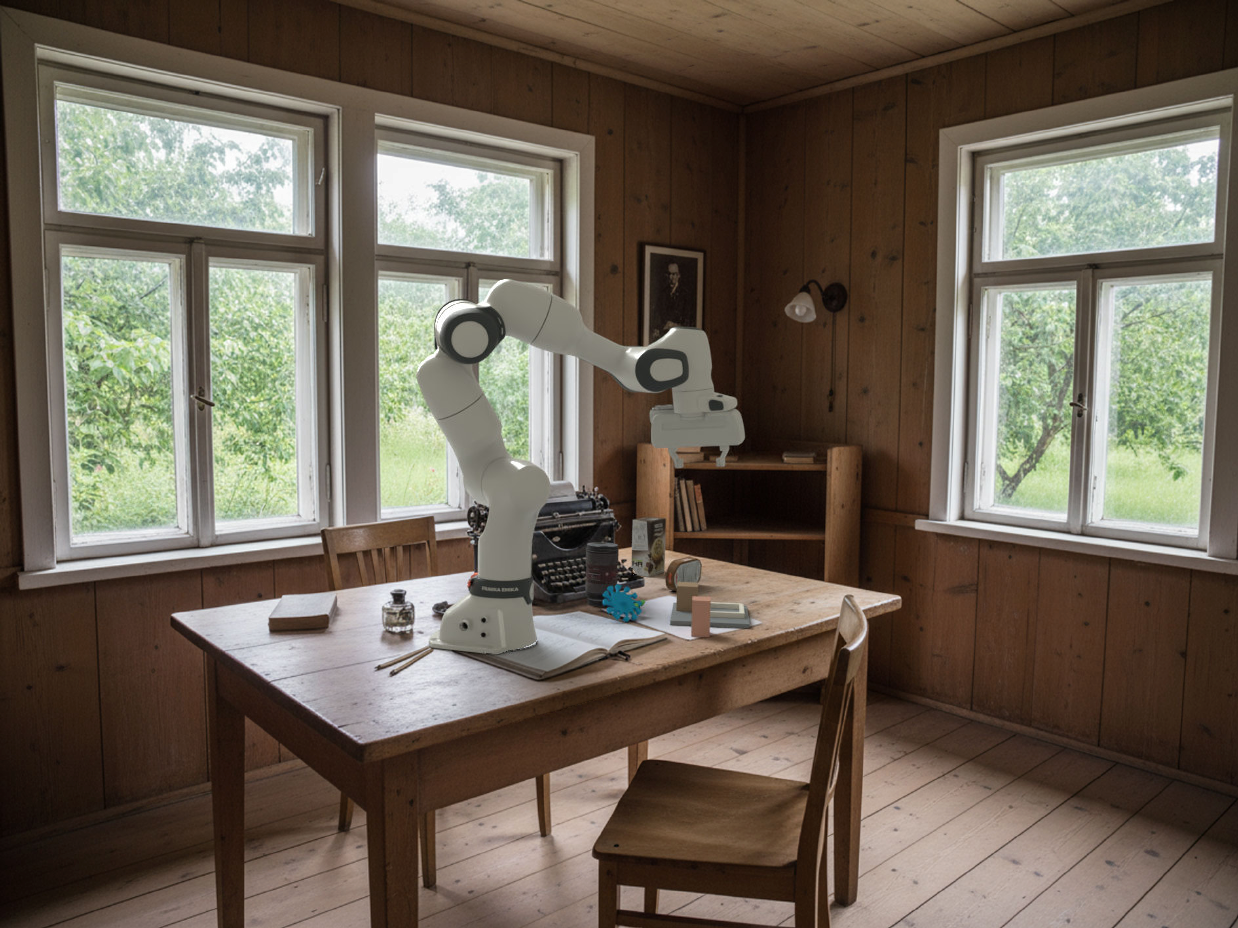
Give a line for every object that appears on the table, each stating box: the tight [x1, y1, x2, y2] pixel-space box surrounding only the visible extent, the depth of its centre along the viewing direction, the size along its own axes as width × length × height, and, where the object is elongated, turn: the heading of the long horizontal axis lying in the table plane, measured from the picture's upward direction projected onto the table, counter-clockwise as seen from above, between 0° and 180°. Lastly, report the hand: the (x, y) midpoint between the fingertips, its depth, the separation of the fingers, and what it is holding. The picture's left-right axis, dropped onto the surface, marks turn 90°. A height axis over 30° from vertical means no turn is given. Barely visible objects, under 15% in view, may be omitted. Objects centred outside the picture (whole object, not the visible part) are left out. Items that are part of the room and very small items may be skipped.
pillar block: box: [690, 596, 712, 638], centre depth 206 cm, size 4×4×8 cm
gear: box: [603, 583, 646, 623], centre depth 220 cm, size 11×6×10 cm
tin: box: [664, 556, 703, 592], centre depth 252 cm, size 15×3×8 cm, turn 144°
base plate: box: [669, 582, 751, 629], centre depth 221 cm, size 18×18×7 cm
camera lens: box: [584, 541, 620, 607], centre depth 233 cm, size 8×8×15 cm
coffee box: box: [630, 516, 667, 578], centre depth 271 cm, size 9×6×16 cm
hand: (699, 467), depth 200 cm, fingers open, 8 cm apart
